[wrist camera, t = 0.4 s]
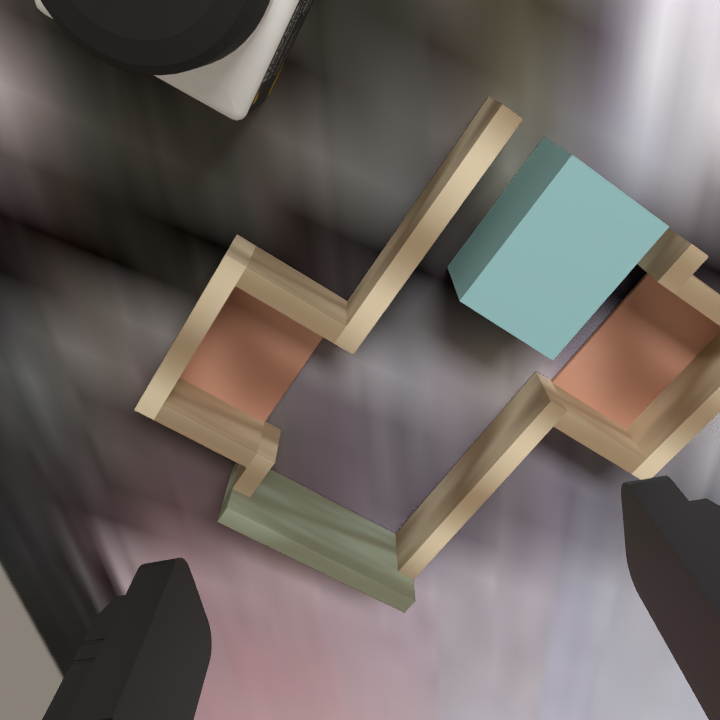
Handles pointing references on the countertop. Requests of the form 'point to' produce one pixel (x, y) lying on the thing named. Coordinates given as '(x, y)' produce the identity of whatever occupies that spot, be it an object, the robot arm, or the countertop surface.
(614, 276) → the teal block
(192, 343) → the beige wooden flat frame
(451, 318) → the countertop surface
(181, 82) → the medicine bottle
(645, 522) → the robot arm
